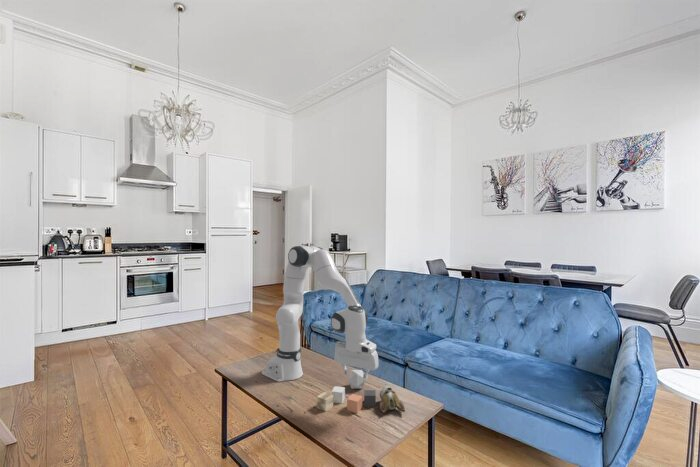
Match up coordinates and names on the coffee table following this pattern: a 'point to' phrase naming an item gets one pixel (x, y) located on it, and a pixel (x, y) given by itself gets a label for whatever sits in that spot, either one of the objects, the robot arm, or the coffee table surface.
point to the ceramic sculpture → (390, 400)
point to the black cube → (369, 398)
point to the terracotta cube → (354, 403)
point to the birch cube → (325, 401)
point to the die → (356, 379)
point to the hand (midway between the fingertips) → (355, 375)
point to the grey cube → (338, 394)
